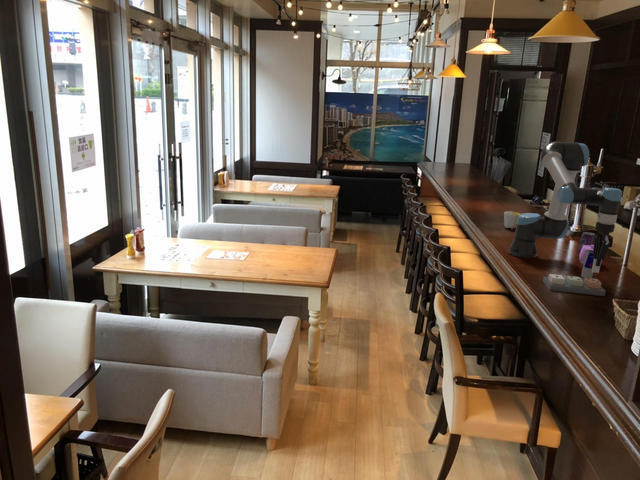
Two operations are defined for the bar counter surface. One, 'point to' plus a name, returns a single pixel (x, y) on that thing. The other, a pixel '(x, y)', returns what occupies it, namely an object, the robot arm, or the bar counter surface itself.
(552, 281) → the tile
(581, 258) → the teapot
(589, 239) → the beverage can
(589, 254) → the grey blue tall box
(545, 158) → the robot arm
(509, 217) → the mug
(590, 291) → the board
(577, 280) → the tile
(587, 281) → the tile
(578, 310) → the bar counter surface
